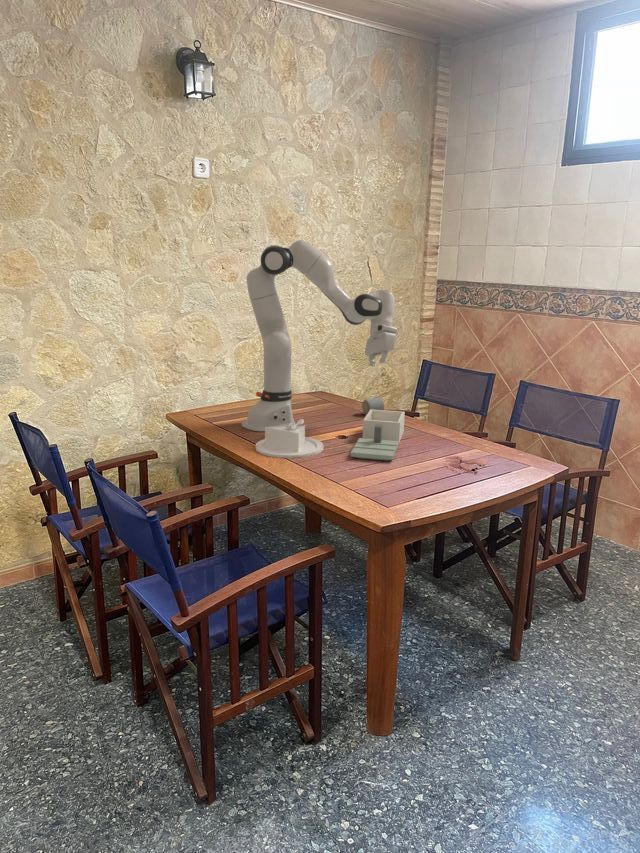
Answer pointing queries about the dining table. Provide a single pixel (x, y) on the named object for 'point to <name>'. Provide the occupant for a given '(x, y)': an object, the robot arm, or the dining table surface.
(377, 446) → the lid
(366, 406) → the ceramic mug
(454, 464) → the cloth
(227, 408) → the dining table surface
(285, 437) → the dish
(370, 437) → the tub
